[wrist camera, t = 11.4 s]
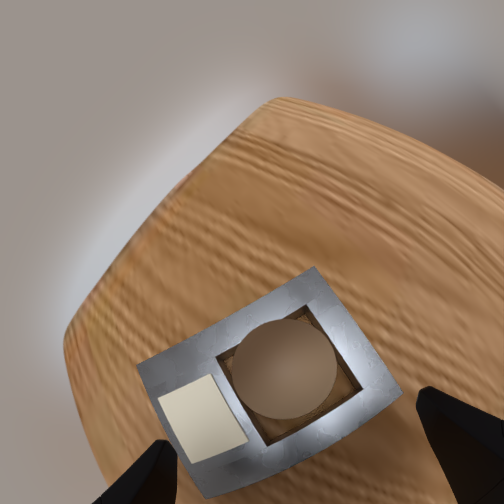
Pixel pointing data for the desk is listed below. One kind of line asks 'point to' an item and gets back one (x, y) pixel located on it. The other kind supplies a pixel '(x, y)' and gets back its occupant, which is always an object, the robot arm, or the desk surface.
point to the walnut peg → (284, 369)
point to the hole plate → (237, 412)
